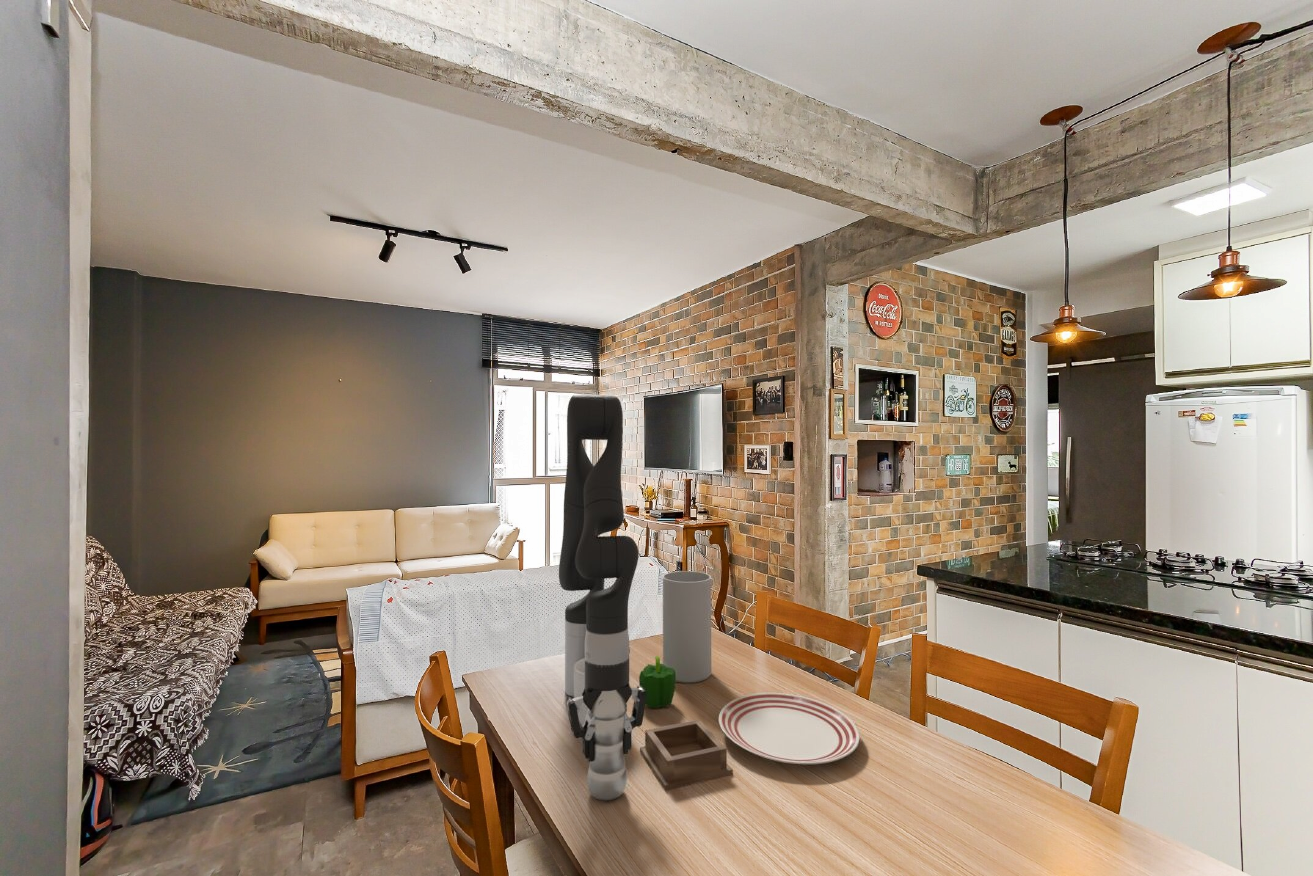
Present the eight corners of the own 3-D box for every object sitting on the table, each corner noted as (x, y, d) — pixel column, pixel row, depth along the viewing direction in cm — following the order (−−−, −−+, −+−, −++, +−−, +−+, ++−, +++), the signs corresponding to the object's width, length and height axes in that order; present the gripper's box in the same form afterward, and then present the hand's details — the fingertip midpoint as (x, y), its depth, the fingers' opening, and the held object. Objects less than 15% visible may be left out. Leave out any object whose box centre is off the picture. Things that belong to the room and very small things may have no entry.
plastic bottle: (587, 783, 97) (587, 667, 98) (626, 781, 98) (626, 666, 98) (586, 807, 91) (585, 683, 91) (627, 805, 92) (627, 681, 92)
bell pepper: (669, 715, 122) (669, 668, 123) (634, 709, 125) (634, 664, 125) (680, 698, 130) (680, 655, 131) (647, 693, 133) (647, 651, 133)
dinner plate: (882, 736, 114) (881, 719, 114) (818, 798, 94) (818, 778, 94) (765, 695, 132) (765, 681, 133) (691, 740, 112) (691, 723, 112)
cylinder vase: (713, 684, 138) (713, 582, 139) (662, 684, 138) (662, 582, 139) (709, 664, 151) (709, 571, 151) (662, 664, 151) (662, 571, 151)
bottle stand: (639, 751, 108) (639, 729, 108) (701, 738, 112) (701, 717, 112) (665, 790, 96) (665, 764, 96) (732, 774, 100) (732, 749, 100)
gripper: (639, 642, 101) (639, 737, 101) (560, 652, 96) (560, 752, 95) (654, 656, 94) (654, 758, 94) (569, 668, 89) (569, 777, 88)
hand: (607, 755), depth 95 cm, fingers closed on plastic bottle, 5 cm apart
